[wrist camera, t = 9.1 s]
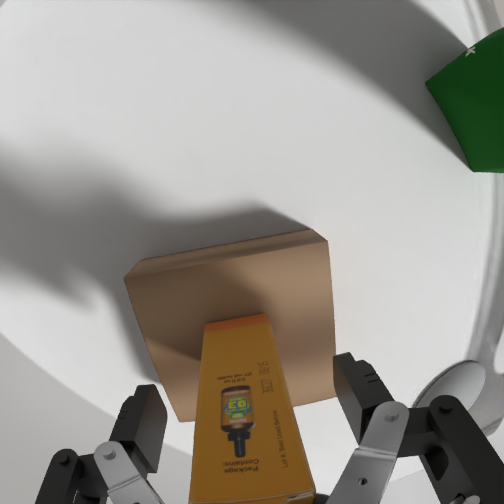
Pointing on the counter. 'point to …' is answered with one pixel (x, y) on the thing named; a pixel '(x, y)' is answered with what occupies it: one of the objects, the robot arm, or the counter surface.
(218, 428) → the supplement box
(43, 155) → the counter surface
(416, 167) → the counter surface
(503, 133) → the milk carton
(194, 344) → the walnut plinth
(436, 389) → the grey coaster
